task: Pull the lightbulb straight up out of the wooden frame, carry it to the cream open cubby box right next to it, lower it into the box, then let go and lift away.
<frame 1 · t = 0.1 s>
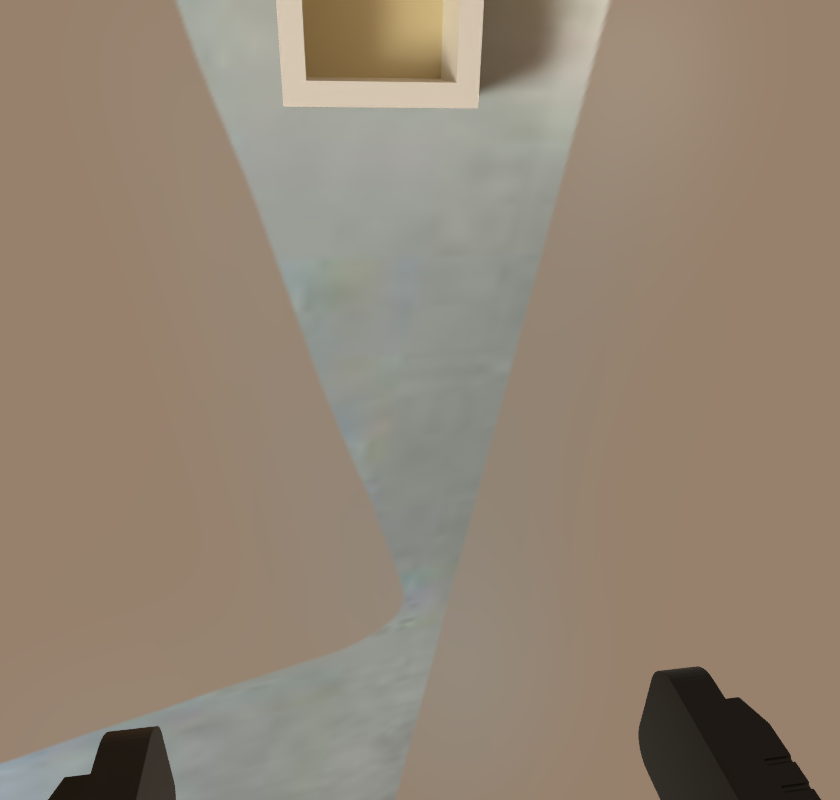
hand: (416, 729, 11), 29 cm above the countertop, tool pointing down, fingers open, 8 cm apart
cream open cubby box: (371, 0, 31), on the countertop
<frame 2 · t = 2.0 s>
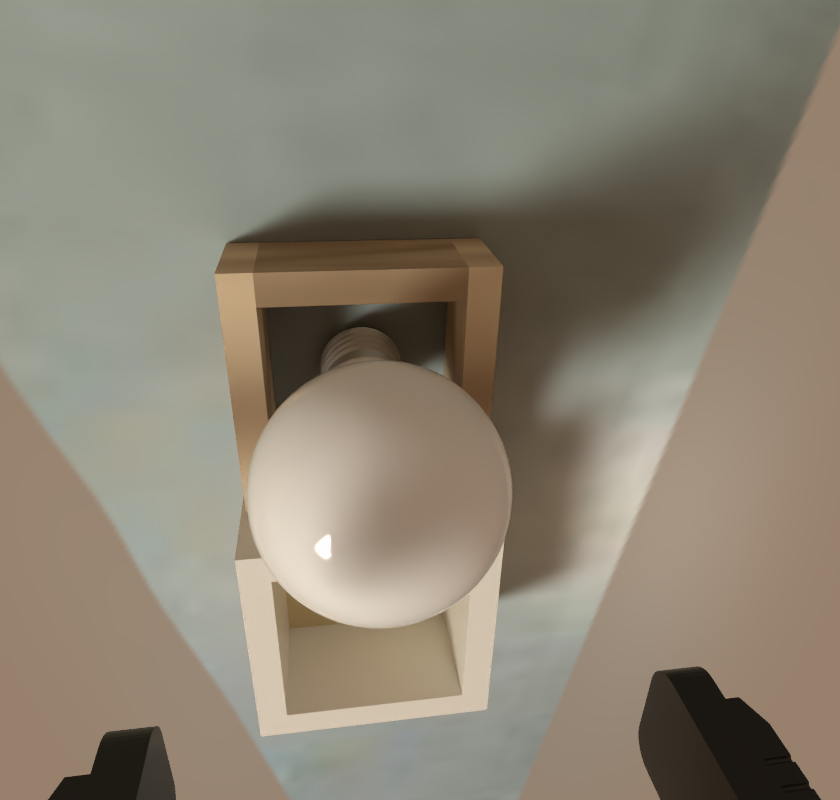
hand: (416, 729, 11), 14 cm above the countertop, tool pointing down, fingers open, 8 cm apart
cream open cubby box: (364, 545, 27), on the countertop
wooden frame: (359, 355, 23), on the countertop
lightbulb: (359, 353, 23), resting in wooden frame
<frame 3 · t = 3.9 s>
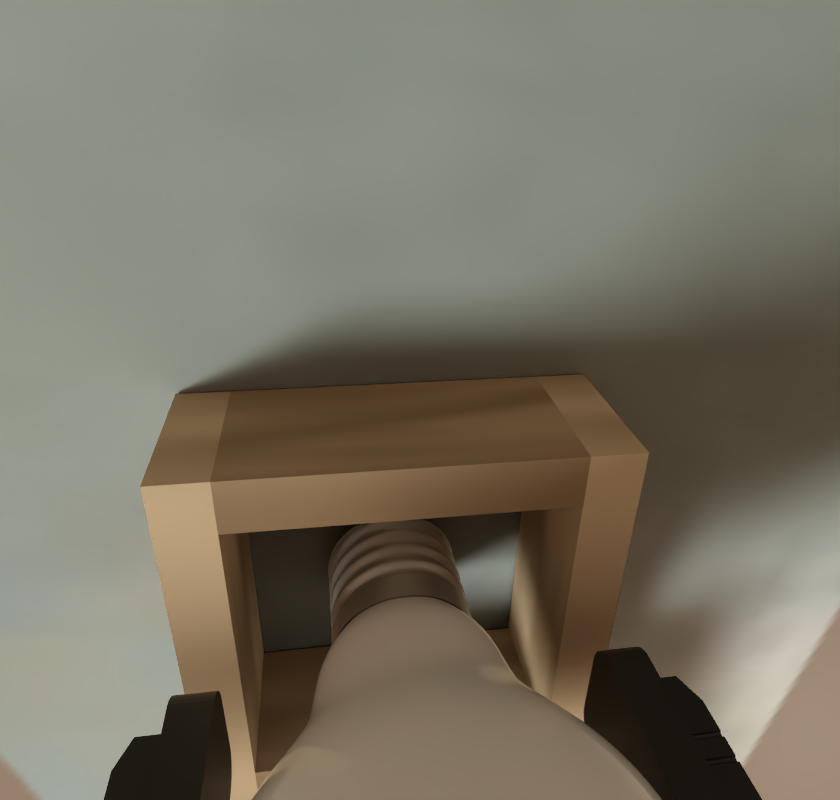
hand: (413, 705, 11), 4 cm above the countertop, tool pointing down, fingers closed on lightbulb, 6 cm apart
wooden frame: (388, 544, 15), on the countertop
lightbulb: (386, 538, 15), resting in wooden frame, touching gripper
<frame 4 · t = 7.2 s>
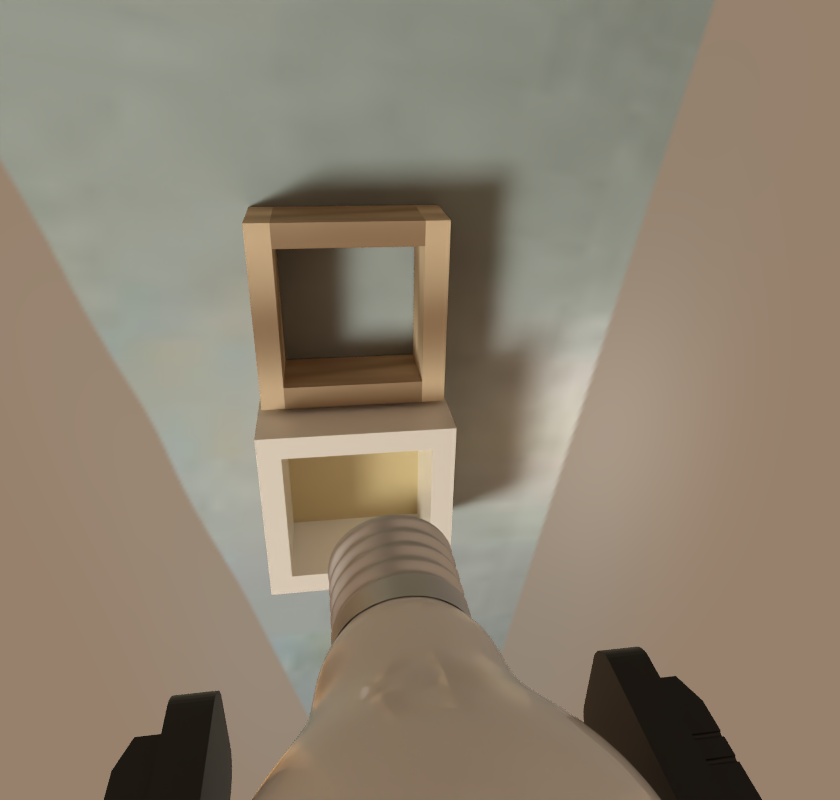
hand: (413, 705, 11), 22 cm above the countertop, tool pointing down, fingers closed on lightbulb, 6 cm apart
cream open cubby box: (353, 455, 34), on the countertop
wooden frame: (348, 296, 30), on the countertop
lightbulb: (386, 538, 15), point 17 cm above the countertop, touching gripper
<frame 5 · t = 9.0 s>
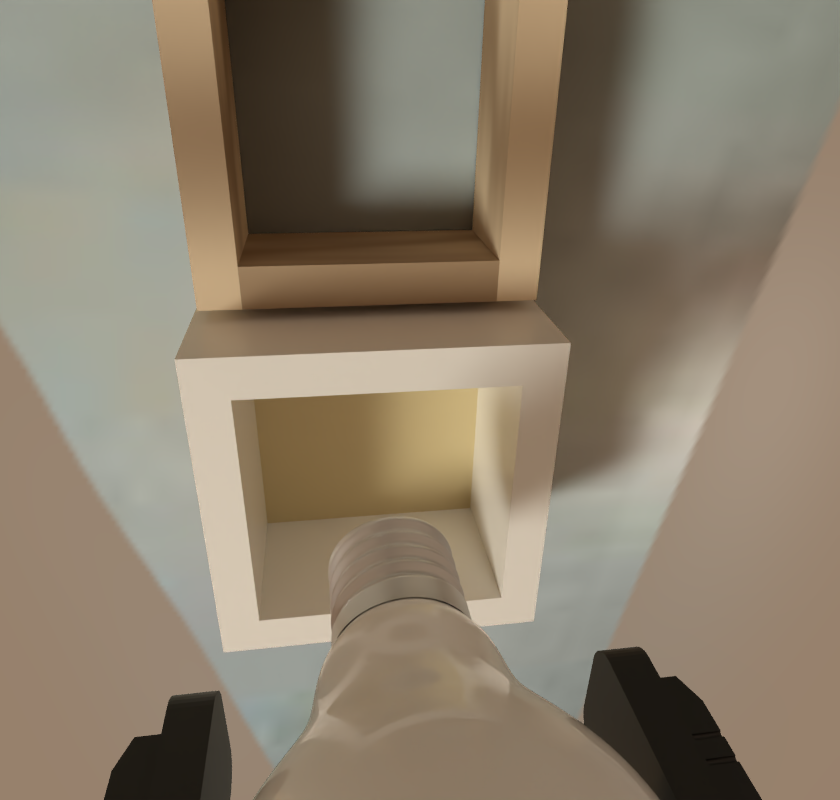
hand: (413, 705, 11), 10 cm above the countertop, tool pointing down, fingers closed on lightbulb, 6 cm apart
cream open cubby box: (366, 411, 20), on the countertop
wooden frame: (360, 110, 16), on the countertop
lightbulb: (386, 539, 15), point 6 cm above the countertop, touching gripper
when the fingers open (7 cm above the countertop, at t = 10.7 s): lightbulb drops 1 cm, resting on cream open cubby box.
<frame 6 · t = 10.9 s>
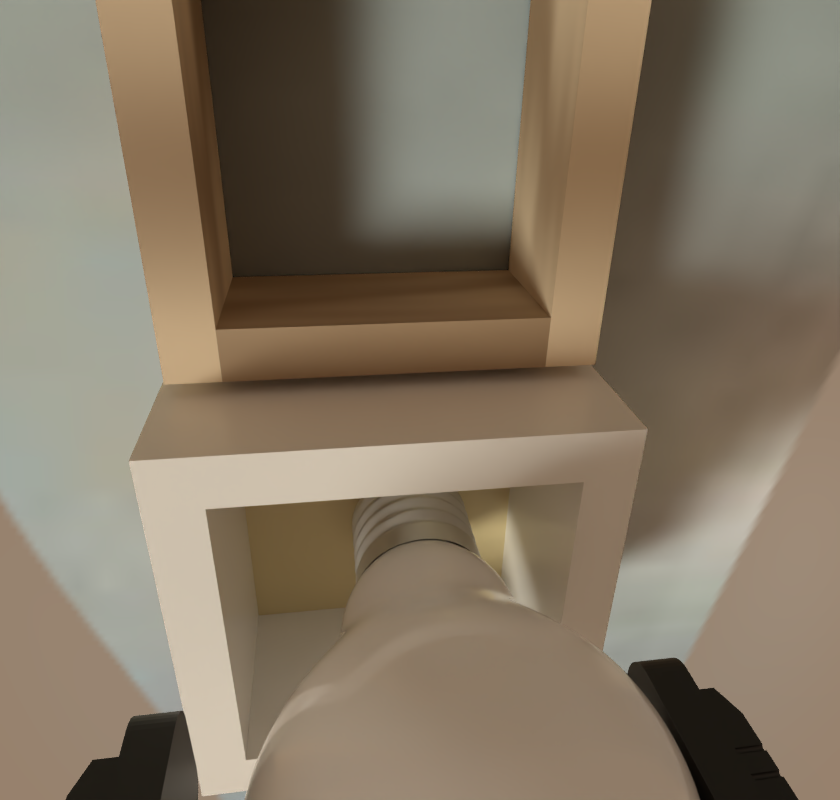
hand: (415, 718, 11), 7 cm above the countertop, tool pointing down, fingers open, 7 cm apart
cream open cubby box: (377, 482, 17), on the countertop
wooden frame: (372, 124, 13), on the countertop
lightbulb: (405, 498, 16), point 1 cm above the countertop, touching gripper, cream open cubby box
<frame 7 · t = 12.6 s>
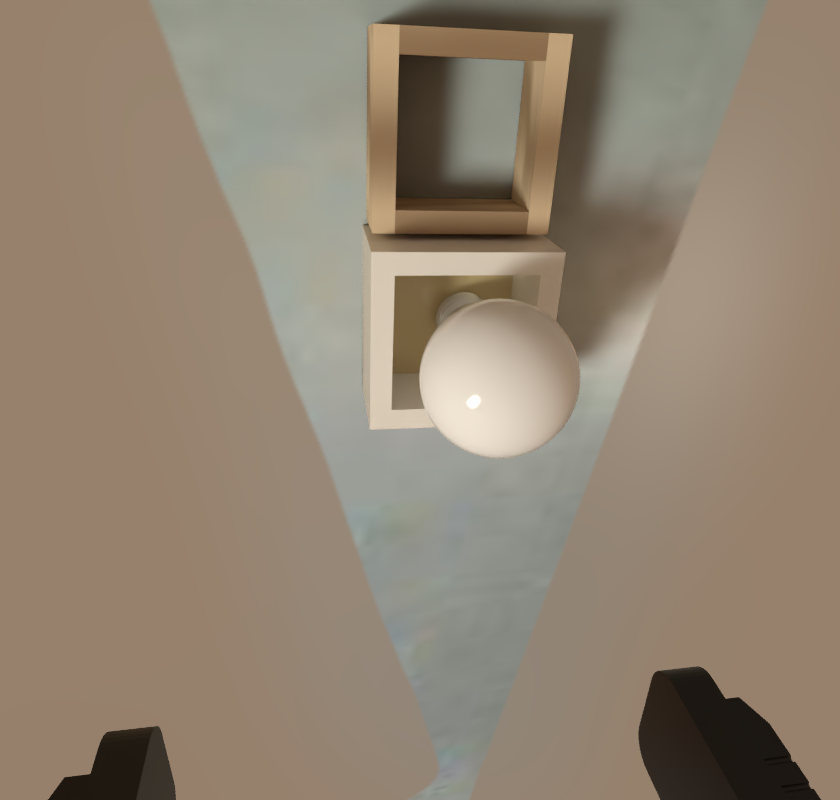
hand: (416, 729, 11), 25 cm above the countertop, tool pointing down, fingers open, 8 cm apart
cream open cubby box: (443, 307, 34), on the countertop
wooden frame: (454, 131, 31), on the countertop
lightbulb: (458, 312, 34), point 1 cm above the countertop, touching cream open cubby box
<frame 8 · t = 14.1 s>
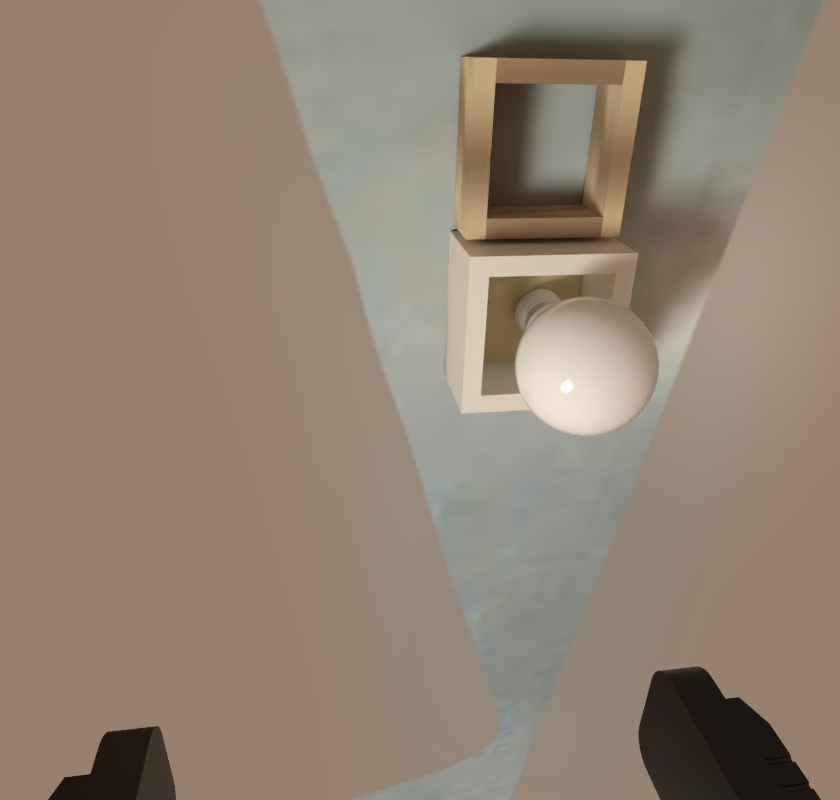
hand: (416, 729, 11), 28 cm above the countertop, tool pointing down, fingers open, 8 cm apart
cream open cubby box: (519, 303, 38), on the countertop
wooden frame: (533, 145, 34), on the countertop
lightbulb: (533, 306, 38), point 1 cm above the countertop, touching cream open cubby box
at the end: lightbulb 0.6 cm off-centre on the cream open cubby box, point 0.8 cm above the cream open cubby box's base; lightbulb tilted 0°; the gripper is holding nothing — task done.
